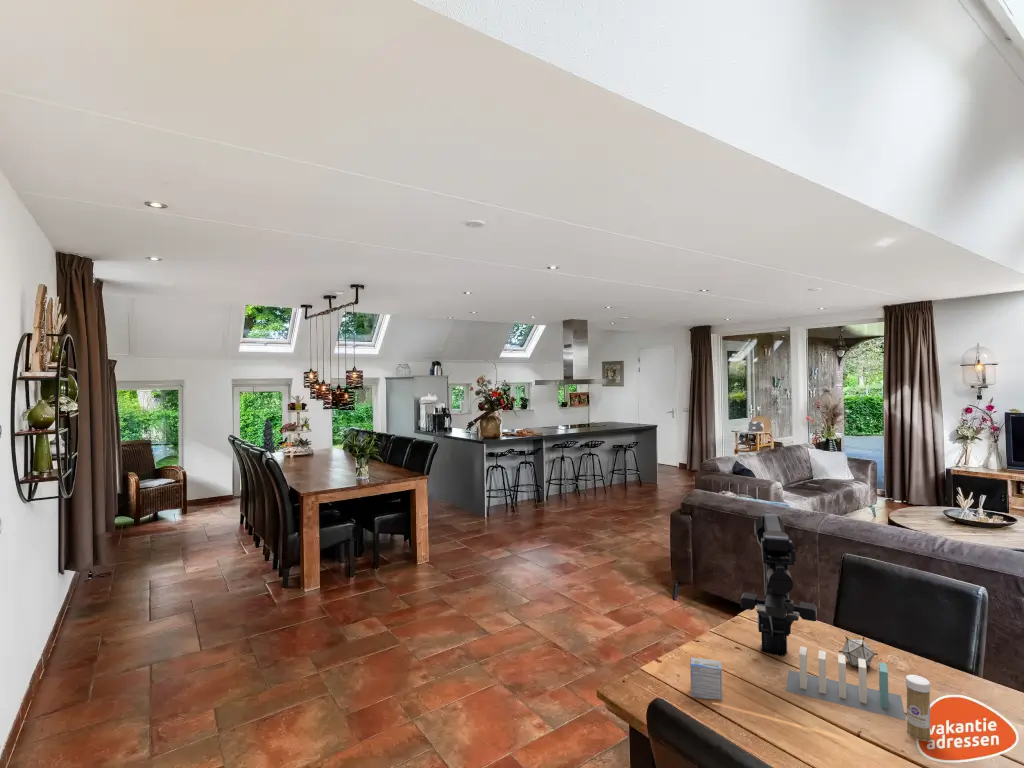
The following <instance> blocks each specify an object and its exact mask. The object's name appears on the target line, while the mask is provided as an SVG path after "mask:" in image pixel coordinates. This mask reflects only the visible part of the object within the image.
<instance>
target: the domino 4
mask: <svg viewBox="0 0 1024 768" xmlns="http://www.w3.org/2000/svg"><path fill="white" fill-rule="evenodd" d="M857 667H858V671H857V672H858V686H859V700H860V702H862V703H866V704H867V688H868V686H867V685H868V684H867V682H868V681H867V667H866V660H865V659H860V658H858V666H857Z"/></svg>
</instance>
